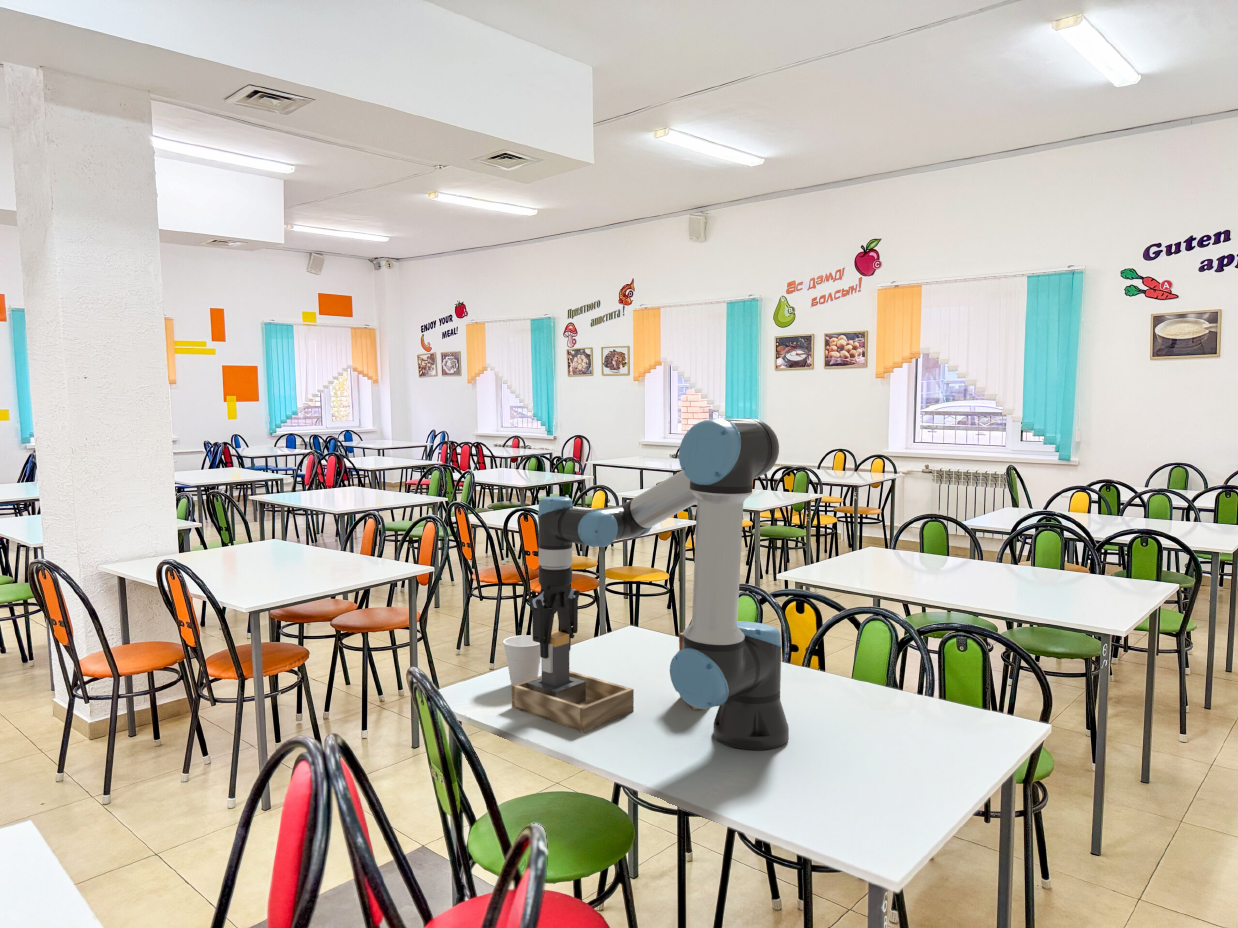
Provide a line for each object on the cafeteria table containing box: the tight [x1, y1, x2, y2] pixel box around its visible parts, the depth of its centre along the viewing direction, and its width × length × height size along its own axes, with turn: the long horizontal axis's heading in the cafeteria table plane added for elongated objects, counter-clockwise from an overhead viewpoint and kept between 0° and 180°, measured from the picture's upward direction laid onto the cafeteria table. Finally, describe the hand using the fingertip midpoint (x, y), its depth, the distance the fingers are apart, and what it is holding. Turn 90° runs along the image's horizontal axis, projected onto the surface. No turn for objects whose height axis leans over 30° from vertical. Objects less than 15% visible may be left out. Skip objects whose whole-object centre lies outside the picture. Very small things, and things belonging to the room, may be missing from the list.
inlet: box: [527, 677, 586, 704], centre depth 191 cm, size 9×9×4 cm
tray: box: [511, 670, 635, 733], centre depth 188 cm, size 22×16×5 cm
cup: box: [502, 634, 542, 686], centre depth 204 cm, size 10×10×11 cm
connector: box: [541, 630, 570, 688], centre depth 190 cm, size 4×4×12 cm
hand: (555, 668), depth 191 cm, fingers closed on connector, 4 cm apart
